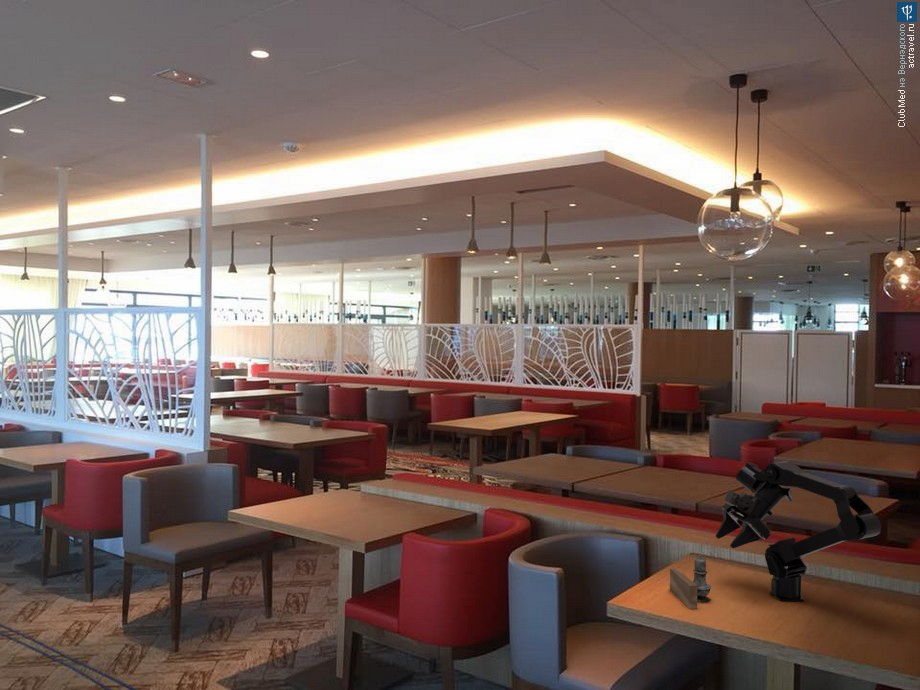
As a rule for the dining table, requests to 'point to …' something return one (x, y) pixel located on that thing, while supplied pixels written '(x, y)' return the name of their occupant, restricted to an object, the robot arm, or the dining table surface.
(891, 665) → the dining table surface
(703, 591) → the salt shaker
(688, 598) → the walnut board
